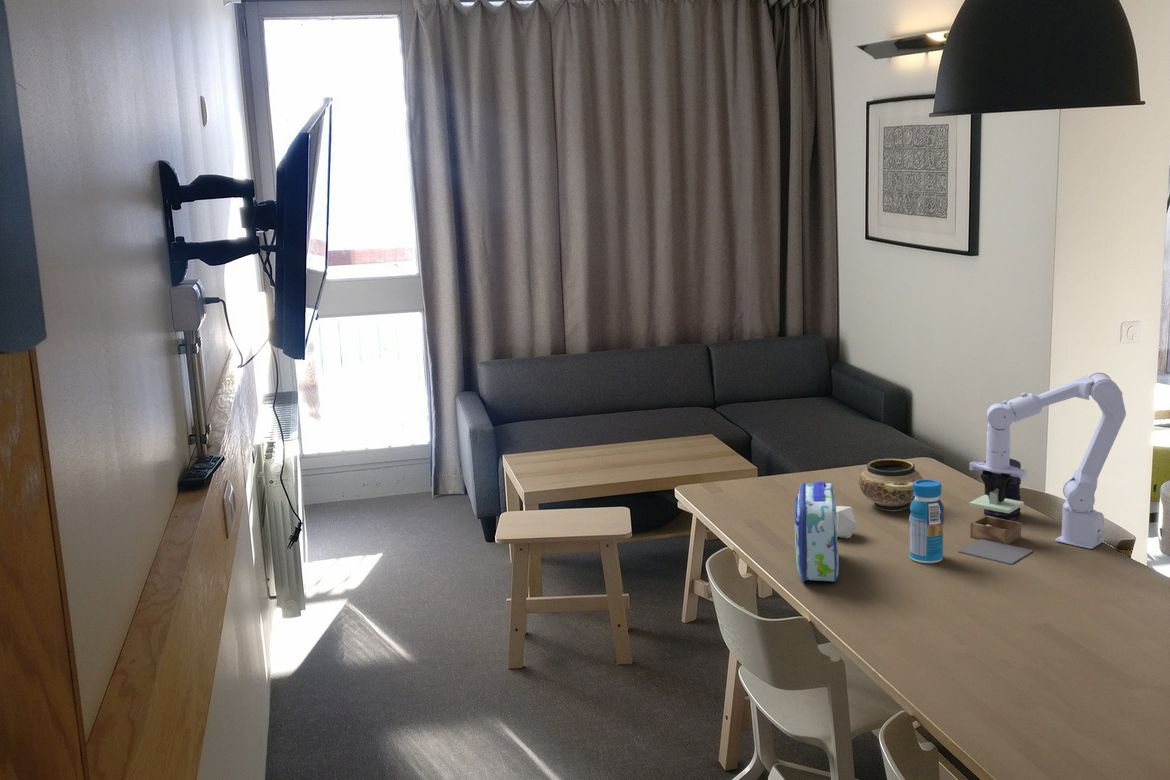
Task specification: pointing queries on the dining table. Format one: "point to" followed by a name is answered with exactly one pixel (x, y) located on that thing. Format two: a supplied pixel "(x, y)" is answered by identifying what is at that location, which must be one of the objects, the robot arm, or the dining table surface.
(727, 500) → the dining table surface
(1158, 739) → the dining table surface
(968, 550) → the mat
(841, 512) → the die
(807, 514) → the lunch box
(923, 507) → the beverage bottle
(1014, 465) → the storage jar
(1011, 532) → the box
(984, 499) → the lid
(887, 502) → the ceramic bowl
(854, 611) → the dining table surface
